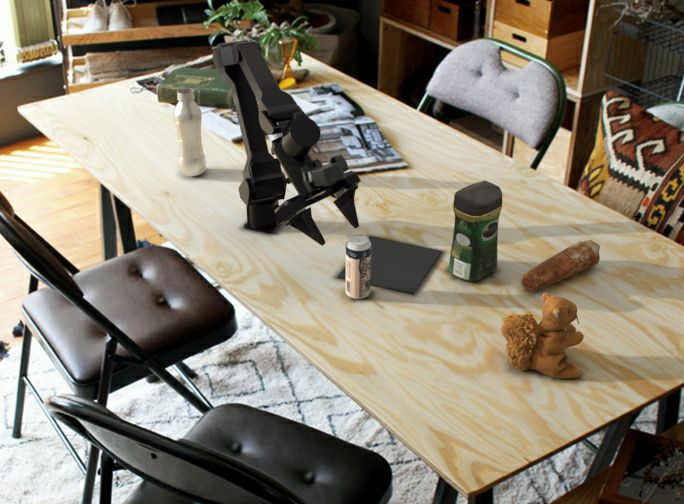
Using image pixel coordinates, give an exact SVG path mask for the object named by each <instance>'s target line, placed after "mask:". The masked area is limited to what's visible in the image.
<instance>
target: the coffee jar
mask: <svg viewBox="0 0 684 504" xmlns="http://www.w3.org/2000/svg"><path fill="white" fill-rule="evenodd" d="M502 209H503V192H502V189H501V187H500V186H499V185H497V184H495V183H493V182H490V181H488V180H481V181H477V182H474V183H471V184H469V185H467V186H465V187H462V188H460V189H459V190H457V191H456V192H454V196H453V203H452V211H453V214H454V226H453V234H452V243H451V248H450V255H449V263H448V270H449V272H450V274H452V275H453V276H454V277H456V278H457V279H459V280H462V281H468V282H476V281H479V280H482V279H484V278H486V277H488V276H489V275H491V274H493V273H494V272H495V271H496V270H497V268H498V238H499V237H498V235H499V221H500V215H501V211H502Z"/></svg>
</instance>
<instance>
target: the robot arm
mask: <svg viewBox="0 0 684 504" xmlns="http://www.w3.org/2000/svg"><path fill="white" fill-rule="evenodd" d="M212 61H213V64H214V67H215V68H216V69H217V72H218V76H219V78H220V79H221V80H222V81H223V83H224V84H226V86H227V87H228V88H229V89H230V91H231V96H232V100H233V105H234V108H235V113H236V116H237V121H238V125H239V129H240V134H241V137H242V138H241V139H242V142H243V147H244V150H245V155H246V160H245V164H244V167H243V171H242V176H243V180H242V181H241V183H240V184H239V186H238V194H239V198H240V200H241V201H242V202H243V203H244V205H245V207H246V208H245V209H246V210H245V211H246V222H245V223H244V224H243V229H246V230H251V231H252V230H253V231H256V232H261V233H266V234H271V233H273V232H274V231H275V230H276V229H277V228H278V227H279V226H281V225H283V224H285V227H292V228H294V229H295V230H297V231H299V232H300V233H303V234H304V235H305V236H307V237H308V238H309V239H311V240H312V241H314V242H316V243H317V244H319V245H320V246H322V247H323V246H325V245H326V244H327V243H326V240H325V238H324V236H323V234H322V232H321V230H320V228H319V227H318V225H317V223H316V222H315V219H314V218H313V213H312V207H311V206H312V205H314V204H316V203H318V202H320V201H322V200H325V199H327V198H329V197H331V198H333V199H335V200H333V201H332V202H333V204H334V206H335V207H336V208H337V209H338V210H339V211H340V213H341V214H342V215H343V217H344V218H345V219H346V220H347V222H348V223H349V224H350V225H351V227H352V228H354V229H356V230H357V229H358V228H359V227H360V222H359V218H358V214H357V213H358V212H357V209H356V201H355V195H356V191H357V189H359V184H360V183H361V182H362V180H361V178H360V176H359V175H358V173H357V172H355V171H353V170H350V171H349V164H348V162H347V160H346V159H345V157H344V156H343V154H336V155H334V156H332V157H330V159H329V162H328V163H326V164H323V163H322V161H321V160H319V159H318V158H316V159H314V158H313V157H312V155H311V153H310V152H311V151H312V150H313V149H314V148H315V146H317V143H318V142H319V141H320V138H321V128H320V126H319V125H318V123H317V122H316V121H315V120H313V119H312V118H311V117H309V116H308V115H307V113H306V112H305V111H304V110H303V109H302V108H301V106H300V105H299V104H298V103H297V101H296V100H295V99H294V98H293V97H294V96H292V95H291V94H290V93H288V92H287V91H285V90H283V89H281V87H280V86H279V84H278V82H277V80H276V78H275V76H274V75H273V72H272V70H271V69H270V67H269V65H268V63H267V61H266V59H265V57H264V55H263V50H262V47H261V44H260V42H259V41H255V40H250V41H249V40H247V39H244V40H243V39H242V40H236V41H230V42H221V43H218V44H217V45H216V49H213V50H212ZM279 134H281V135H280V136H279V137H277V138H275V139H273V140H271V148H270V151H269V146H268V141H267V138H266V135H268V136H274V135H279ZM274 156H275V157H274ZM282 169H283V170H284V172H285V173H284V172H283V170H282ZM285 174H286V175H287V177H286V175H285ZM290 184H292V186H293V188H294V189H295V191H296V192H297V195H295V196H292V197H290V198H288V199H286V193H287V186H288V185H290ZM281 200H282V201H283V200H284V201H283V202H282V203H281V204H280V201H281Z"/></svg>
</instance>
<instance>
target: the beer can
mask: <svg viewBox="0 0 684 504" xmlns="http://www.w3.org/2000/svg"><path fill="white" fill-rule="evenodd" d="M345 266H346V280H345V294H346V296H348V297H349V298H351V299H355V300H361V299H362V300H363V299H365V298H367V297H369V296H370V294H371V285H370V280H371V242H370V240H369V236H367V235H363V234H353V235H350V236H349V237H348V239H347V240H346V243H345Z"/></svg>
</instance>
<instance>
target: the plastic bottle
mask: <svg viewBox="0 0 684 504" xmlns="http://www.w3.org/2000/svg"><path fill="white" fill-rule="evenodd" d="M176 94H177V95H176V96H177V97H176V100H177V101H178V102H177V103H176V104H175V106H174V108H173V111H172V118H173V122H174V126H175V130H176V136H177V143H178V144H177V145H178V146H177V147H178V148H177V149H178V154H177V155H178V156H177V166H178V167H177V168H178V170H179V171H180V173H181V174H182V175H183V176H187V177H197V176H200V175H202V174H203V173H204V172H205V171H206V169H207V159H206V158H207V157H206V155H205V152H204V145H203V140H202V115H203V113H202V110H201V107H200V106H199V104H197V102H196V101H195V97H196V96H195V90H194V89H193V88H191V87H182V88H179V89H177V91H176Z"/></svg>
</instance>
